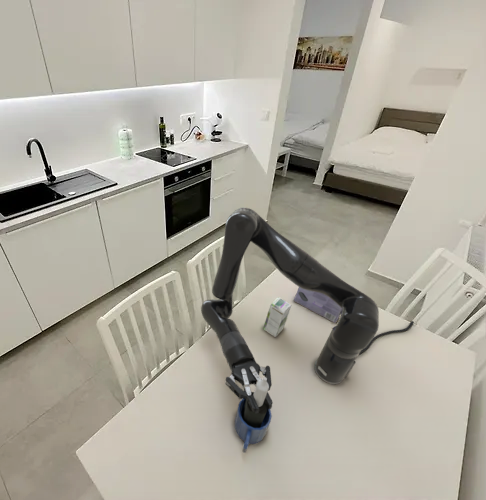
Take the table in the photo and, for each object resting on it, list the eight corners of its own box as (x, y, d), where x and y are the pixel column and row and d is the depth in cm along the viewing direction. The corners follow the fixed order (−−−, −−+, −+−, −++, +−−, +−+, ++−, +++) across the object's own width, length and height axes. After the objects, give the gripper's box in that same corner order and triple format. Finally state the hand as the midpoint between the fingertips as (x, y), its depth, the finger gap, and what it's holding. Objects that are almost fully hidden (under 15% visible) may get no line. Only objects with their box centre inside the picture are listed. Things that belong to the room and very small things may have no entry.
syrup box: (270, 321, 115) (277, 296, 106) (283, 329, 112) (292, 304, 103) (262, 329, 112) (269, 304, 103) (276, 338, 108) (284, 313, 100)
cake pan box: (342, 318, 117) (357, 287, 106) (337, 325, 114) (353, 294, 103) (297, 295, 127) (308, 264, 116) (292, 301, 124) (303, 270, 113)
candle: (258, 434, 80) (276, 390, 65) (240, 430, 81) (254, 386, 66) (259, 415, 84) (276, 370, 69) (241, 411, 85) (254, 366, 70)
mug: (239, 405, 88) (242, 390, 83) (268, 418, 86) (274, 403, 80) (227, 448, 79) (230, 434, 74) (259, 463, 76) (265, 450, 71)
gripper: (215, 349, 80) (240, 411, 67) (259, 337, 84) (292, 394, 71) (213, 363, 85) (236, 424, 72) (255, 352, 88) (285, 408, 75)
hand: (263, 409), depth 71 cm, fingers closed on candle, 3 cm apart
